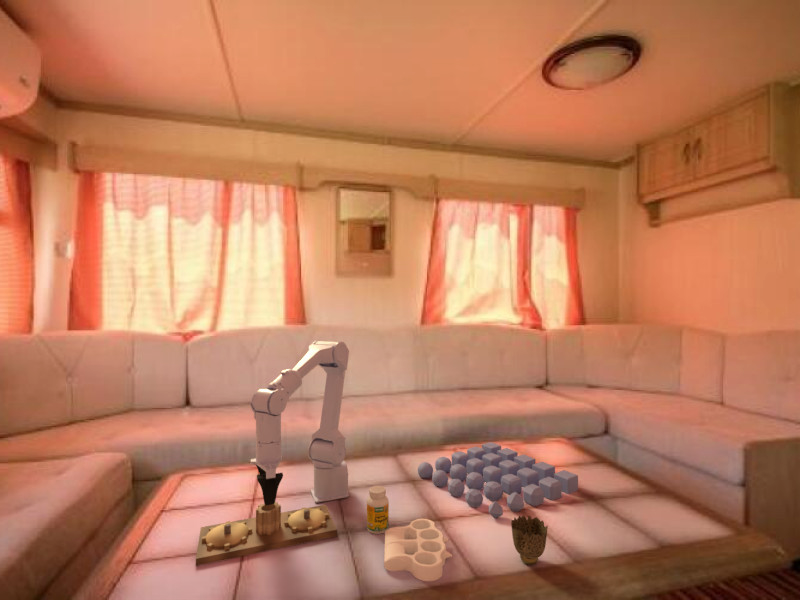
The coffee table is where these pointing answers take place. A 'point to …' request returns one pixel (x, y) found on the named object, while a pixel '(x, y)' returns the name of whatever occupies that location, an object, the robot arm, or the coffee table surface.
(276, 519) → the maple gear
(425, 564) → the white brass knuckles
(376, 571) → the coffee table surface
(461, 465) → the blocks
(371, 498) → the supplement bottle
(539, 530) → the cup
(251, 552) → the gear board
